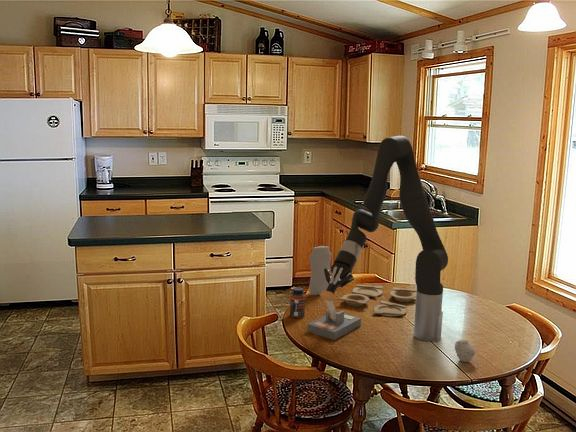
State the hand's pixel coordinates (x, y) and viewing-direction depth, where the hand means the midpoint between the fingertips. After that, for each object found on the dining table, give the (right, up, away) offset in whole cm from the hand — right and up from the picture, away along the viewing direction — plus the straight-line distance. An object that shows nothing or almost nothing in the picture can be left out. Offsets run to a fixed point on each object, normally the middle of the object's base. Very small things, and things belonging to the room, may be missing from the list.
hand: (328, 294), depth 202 cm
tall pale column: (-1, -6, +46) cm, 47 cm away
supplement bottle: (-11, -11, +18) cm, 24 cm away
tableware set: (+24, -9, +38) cm, 46 cm away
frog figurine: (+43, -20, -19) cm, 51 cm away
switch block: (+2, -14, +6) cm, 15 cm away
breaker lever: (+3, -10, +6) cm, 12 cm away
